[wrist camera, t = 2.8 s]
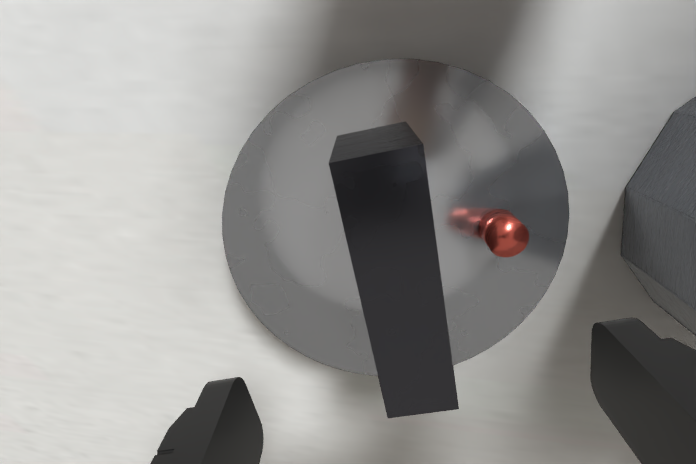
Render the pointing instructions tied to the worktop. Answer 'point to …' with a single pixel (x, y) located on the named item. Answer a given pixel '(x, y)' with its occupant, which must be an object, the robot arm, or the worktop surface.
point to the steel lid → (396, 223)
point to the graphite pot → (666, 218)
